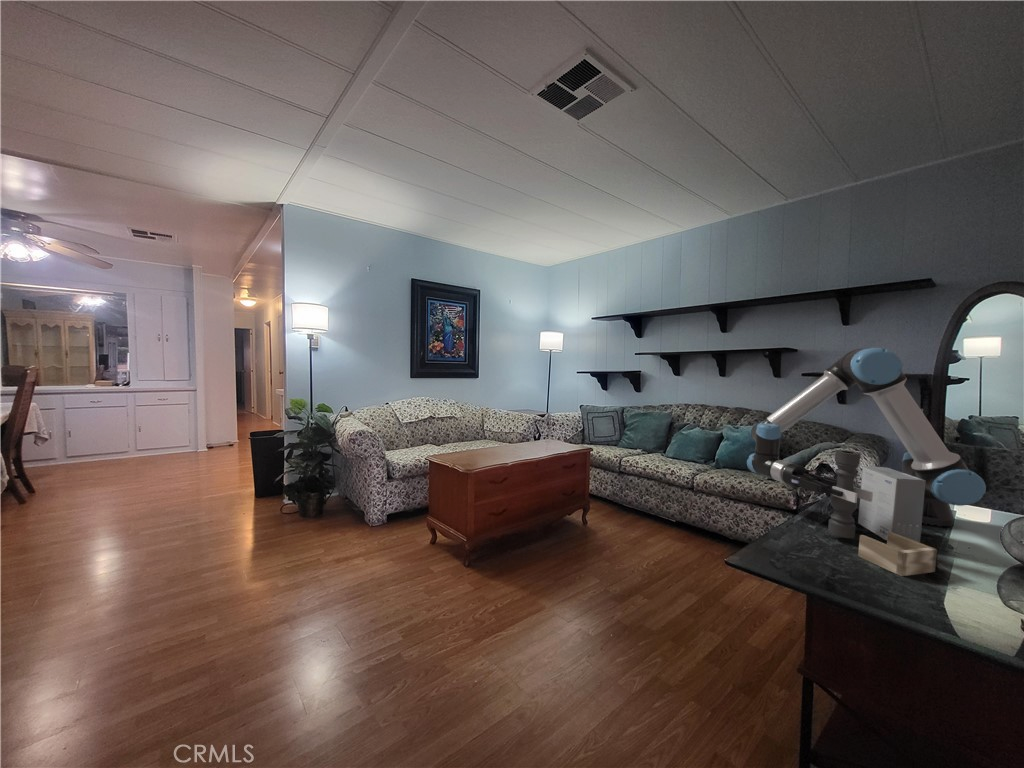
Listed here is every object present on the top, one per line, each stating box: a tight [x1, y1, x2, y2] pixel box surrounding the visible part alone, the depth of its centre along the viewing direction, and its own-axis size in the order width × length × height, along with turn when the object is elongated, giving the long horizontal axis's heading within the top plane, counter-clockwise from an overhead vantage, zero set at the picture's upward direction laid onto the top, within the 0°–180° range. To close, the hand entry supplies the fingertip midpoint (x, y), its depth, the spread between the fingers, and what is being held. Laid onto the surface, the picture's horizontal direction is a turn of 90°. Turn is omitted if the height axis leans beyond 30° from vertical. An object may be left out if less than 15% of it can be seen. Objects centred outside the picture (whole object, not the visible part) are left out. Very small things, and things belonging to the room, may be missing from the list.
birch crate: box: [857, 532, 938, 577], centre depth 105 cm, size 11×10×6 cm
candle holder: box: [827, 449, 861, 539], centre depth 118 cm, size 6×6×25 cm
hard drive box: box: [857, 465, 926, 543], centre depth 123 cm, size 16×8×20 cm, turn 168°
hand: (863, 497), depth 113 cm, fingers closed on candle holder, 5 cm apart
